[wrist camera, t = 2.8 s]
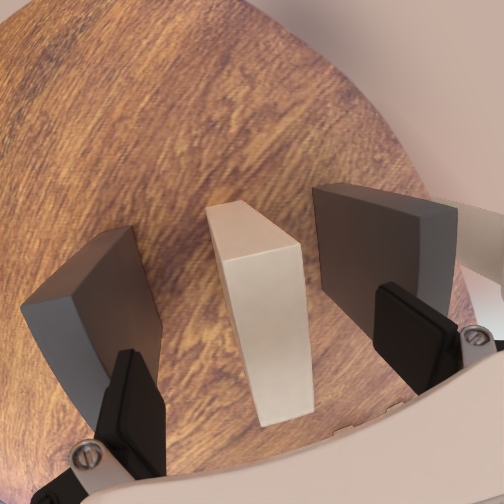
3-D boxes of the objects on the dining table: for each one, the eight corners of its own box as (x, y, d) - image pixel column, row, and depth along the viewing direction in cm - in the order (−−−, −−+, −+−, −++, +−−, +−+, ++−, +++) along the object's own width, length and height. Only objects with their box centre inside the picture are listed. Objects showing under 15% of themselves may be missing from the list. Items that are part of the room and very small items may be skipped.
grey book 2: (131, 224, 18) (70, 295, 8) (163, 327, 21) (153, 446, 11) (98, 233, 18) (18, 306, 8) (133, 333, 21) (107, 449, 10)
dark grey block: (342, 182, 20) (458, 208, 10) (349, 281, 23) (439, 356, 13) (311, 187, 20) (419, 216, 10) (321, 289, 23) (404, 374, 12)
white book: (241, 199, 19) (301, 243, 9) (260, 305, 22) (314, 411, 12) (204, 207, 19) (221, 261, 9) (228, 313, 22) (261, 427, 11)
